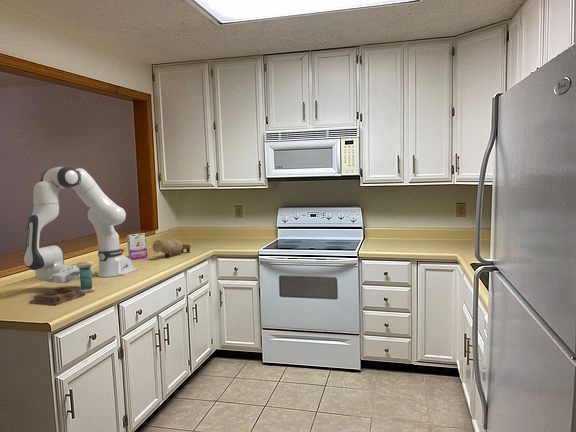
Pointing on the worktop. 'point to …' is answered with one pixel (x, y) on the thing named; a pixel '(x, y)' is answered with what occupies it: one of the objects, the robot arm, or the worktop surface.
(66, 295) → the pocket board
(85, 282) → the bobbin
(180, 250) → the brown stuffed animal
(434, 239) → the worktop surface
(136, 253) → the candy bar box
